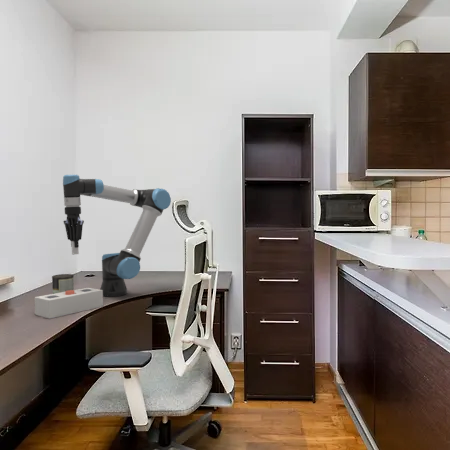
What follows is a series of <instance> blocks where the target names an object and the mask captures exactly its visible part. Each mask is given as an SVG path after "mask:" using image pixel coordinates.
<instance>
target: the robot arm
mask: <svg viewBox="0 0 450 450" xmlns="http://www.w3.org/2000/svg"><path fill="white" fill-rule="evenodd" d="M62 187H63V200H64V201H63V203H64V204H63V205H64V206H65V207H64V215H66V219H65V220H63V225H64V227H65V232H66V236H67V240H68V241H70V245H71V246H70V247H71V255H79V254H80V253H79V248H80V246H79V241H81V240H82V236H83V225H84V224H85V223H84V222H85V221H84V220H83V219H81V217H80V215H81V214H82V207H81V204H82V203H81V201H82V200H81V196H86V197H92V198H98V199H103V200H104V199H105V200H110V201H113V202H120V203H126V204H129V205H131V206H134V207H138V208H141V209H142V212H141V214H140V217H139V219H138V221H137V222H136V225H135V227H134V228H133V232H132V233H131V235H130V237H129V240H128V241H127V244H126V246H125V248H124V249H121V250H120V252H115V253H104V254H103V255H102V256H101V271H102V277H101V278H102V281H101V285H100V289H99V290H103V297H112V298H113V297H119V296H120V297H121V296H124V295H127V294H128V288H127V284H126V282H125V280H131V279H133V278H135V277H137V276H138V275H139V273H140V271H141V263H140V261H141V260H142V258H141V256H140V255H141V253H142V252H143V248H144V247H145V244H146V242H147V240H148V237H149V235H150V234H151V231H152V230H153V227H154V225H155V223H156V220H157V218H158V217H161V216H162V214H163V212H164V210H166V209H168V208H169V207H170V205H171V202H172V201H171V199H172V198H171V196H170V195H171V194H170V192H169V191H168V190H166V189H164V188H159V187H158V188H157V187H156V188H150V189H147V188H146V189H136V188H134V189H127V188H123V187H117V186H111V185H105V184H104V182H103V180H102V179H100V178H98V179H97V178H80V176H79V174H64V175H63V178H62Z"/></svg>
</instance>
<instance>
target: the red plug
mask: <svg viewBox="0 0 450 450" xmlns="http://www.w3.org/2000/svg"><path fill="white" fill-rule="evenodd" d="M74 290H75V289H74ZM74 290H68V291H65V295H71V294H74Z"/></svg>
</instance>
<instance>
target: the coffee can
mask: <svg viewBox="0 0 450 450" xmlns="http://www.w3.org/2000/svg"><path fill="white" fill-rule="evenodd" d="M74 276H75V275H74V274H71V273H62V274H55V275H52V276H51V279H52V281H51V282H52V294H55V293H61V292H65V291H68V290H75V289H74V287H75V286H74Z"/></svg>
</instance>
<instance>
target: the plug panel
mask: <svg viewBox="0 0 450 450" xmlns="http://www.w3.org/2000/svg"><path fill="white" fill-rule="evenodd" d="M85 289H90V290H91V291H87V292H83V291H82V290H85ZM53 295H55V296H57V297H55V298H47V297H48V296H53ZM103 298H104V296H103V290H100V289H98V288H93V287H84V288H78V289H74V294H71V295H65V292H61V293H55V294H53V293H49V294H45V295H40V296H35V297H34V315H35V316H39V317H42V318H44V319H45V318H46V319H49V320H50V319H54V318H58V317H62V316H68V315H71V314H76V313H79V312H84V311H89V310H93V309H97V308H103V307H104V299H103Z"/></svg>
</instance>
